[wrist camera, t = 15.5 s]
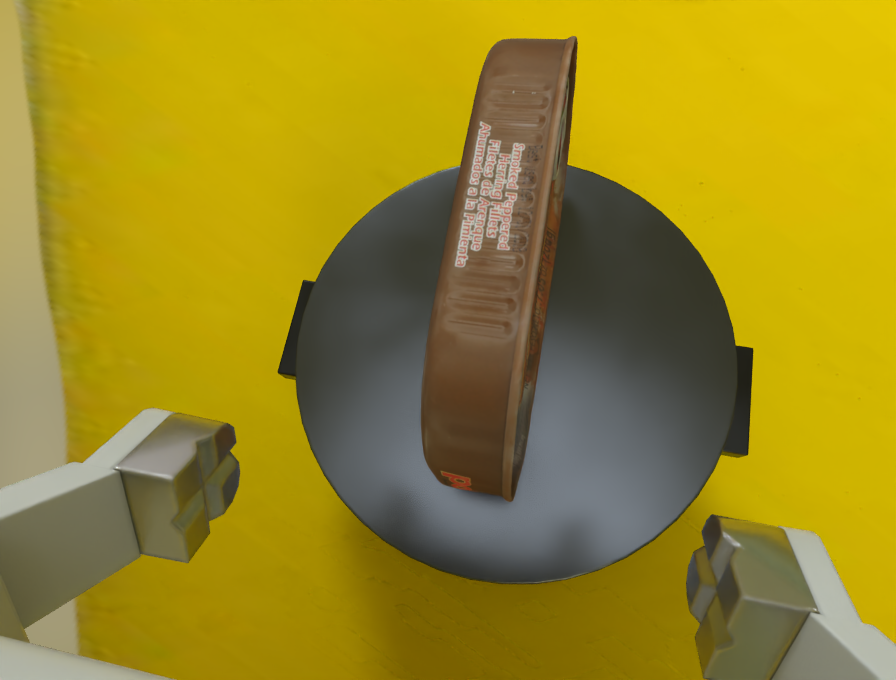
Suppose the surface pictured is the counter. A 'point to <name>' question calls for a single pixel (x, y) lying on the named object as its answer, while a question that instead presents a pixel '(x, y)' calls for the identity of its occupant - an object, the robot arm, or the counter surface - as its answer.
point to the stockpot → (556, 395)
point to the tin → (498, 268)
